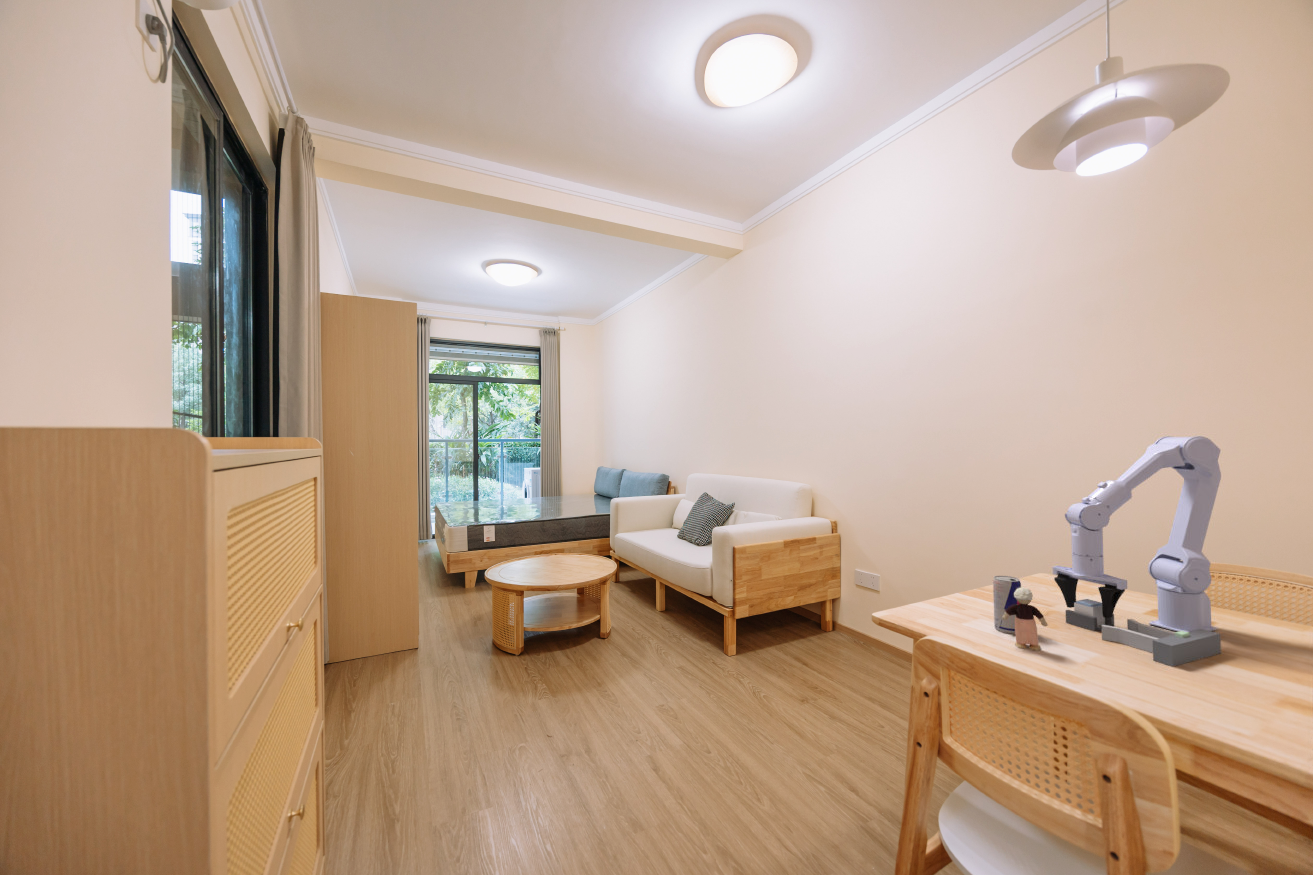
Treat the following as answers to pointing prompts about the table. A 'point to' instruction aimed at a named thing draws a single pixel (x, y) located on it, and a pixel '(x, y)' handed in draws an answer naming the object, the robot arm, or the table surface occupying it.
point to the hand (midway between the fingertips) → (1088, 611)
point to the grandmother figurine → (1025, 619)
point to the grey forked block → (1166, 642)
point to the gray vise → (1086, 620)
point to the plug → (1090, 609)
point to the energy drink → (1004, 602)
